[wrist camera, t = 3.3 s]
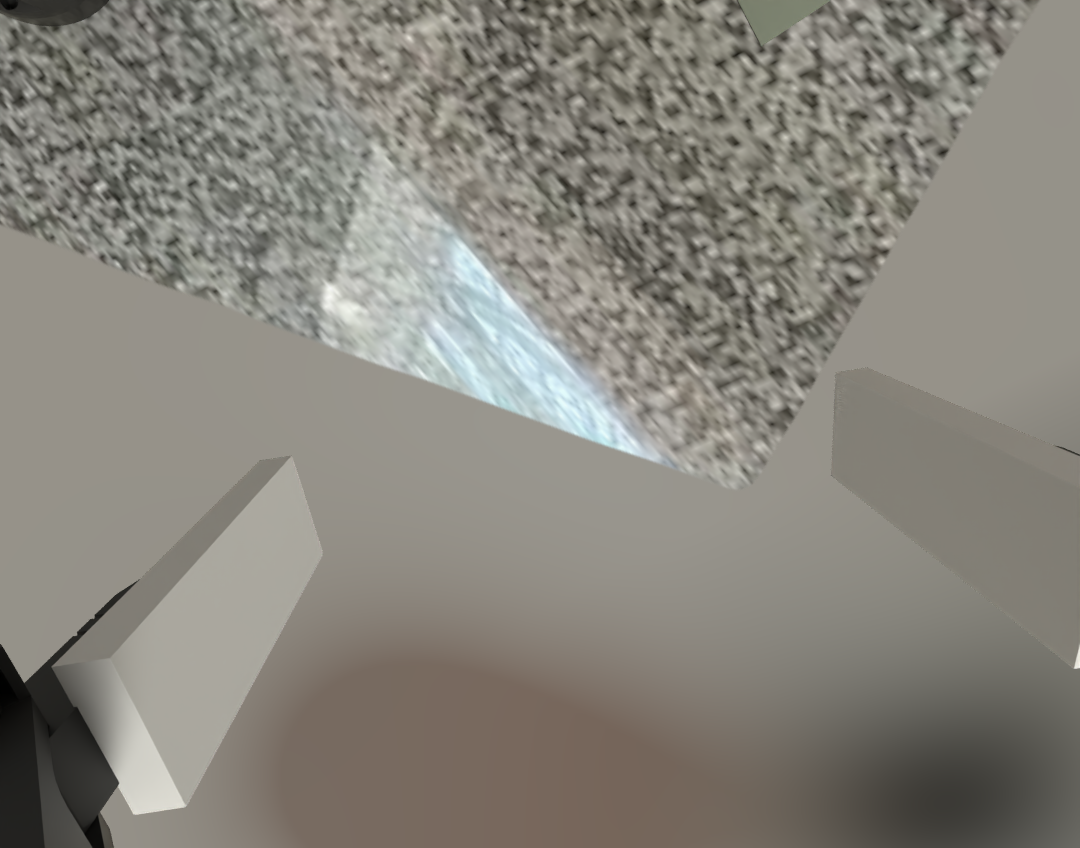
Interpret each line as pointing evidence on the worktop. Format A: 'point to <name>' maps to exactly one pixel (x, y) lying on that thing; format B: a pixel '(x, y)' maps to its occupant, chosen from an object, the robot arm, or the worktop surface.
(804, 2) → the sage step
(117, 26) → the worktop surface
